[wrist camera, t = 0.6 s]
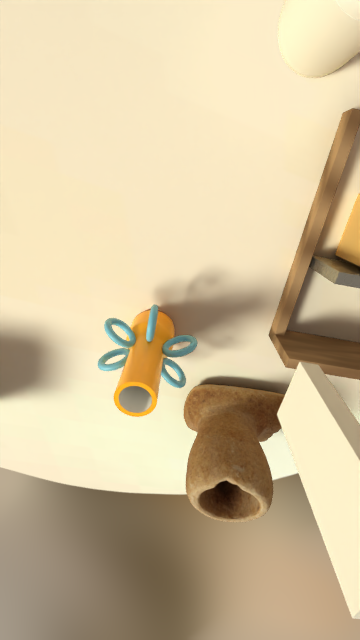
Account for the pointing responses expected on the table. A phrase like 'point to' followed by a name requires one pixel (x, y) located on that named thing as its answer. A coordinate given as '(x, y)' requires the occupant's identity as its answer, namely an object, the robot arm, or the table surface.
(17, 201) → the table surface
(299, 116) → the table surface
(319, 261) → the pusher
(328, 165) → the lane
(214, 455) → the brown felt boot
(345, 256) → the cream cube
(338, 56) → the pill bottle
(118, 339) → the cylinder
